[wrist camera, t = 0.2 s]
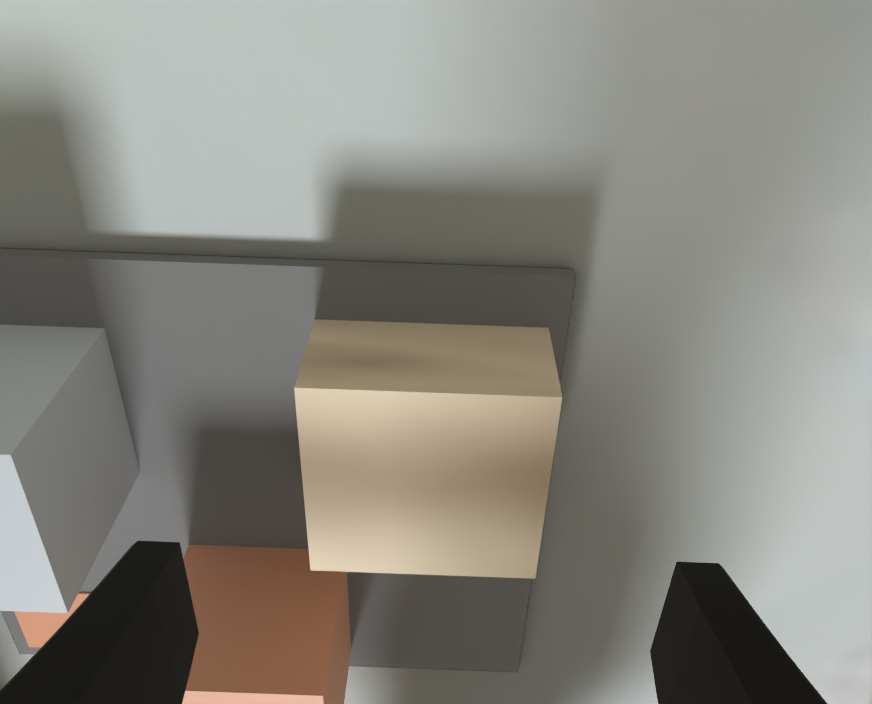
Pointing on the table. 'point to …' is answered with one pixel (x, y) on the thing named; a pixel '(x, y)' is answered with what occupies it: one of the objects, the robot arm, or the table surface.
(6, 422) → the blue-grey cube
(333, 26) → the table surface
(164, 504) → the grey square mat
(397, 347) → the maple block
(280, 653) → the terracotta cube
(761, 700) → the robot arm
